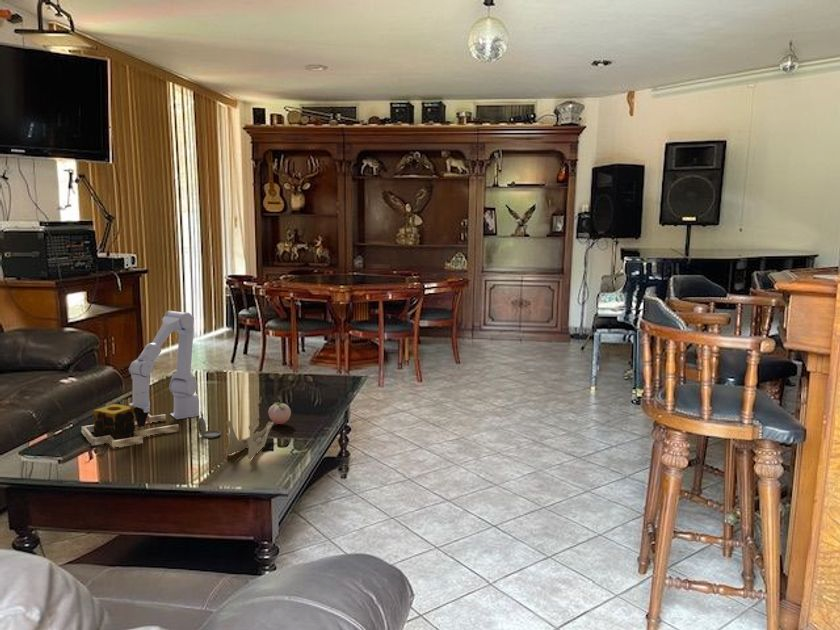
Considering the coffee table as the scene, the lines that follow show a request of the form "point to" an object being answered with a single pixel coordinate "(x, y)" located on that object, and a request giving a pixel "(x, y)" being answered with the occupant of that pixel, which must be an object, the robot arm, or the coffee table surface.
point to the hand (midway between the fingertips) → (141, 426)
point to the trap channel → (137, 434)
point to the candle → (114, 421)
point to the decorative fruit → (279, 413)
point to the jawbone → (247, 440)
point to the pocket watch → (203, 429)
